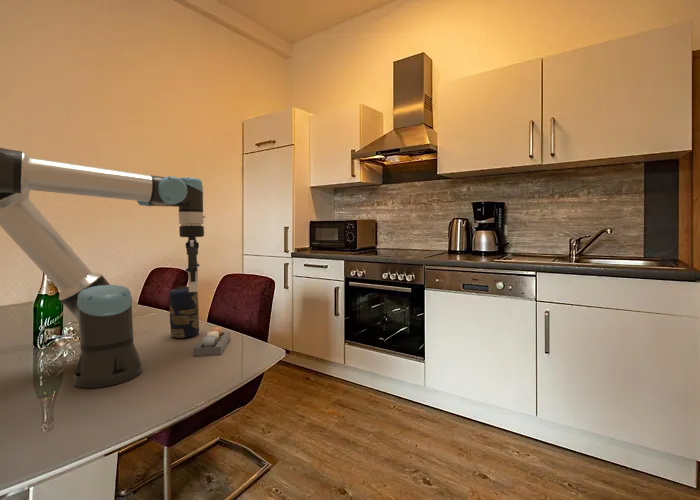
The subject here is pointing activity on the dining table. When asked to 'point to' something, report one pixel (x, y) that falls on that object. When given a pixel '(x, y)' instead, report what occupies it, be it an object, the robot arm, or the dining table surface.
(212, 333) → the cream button
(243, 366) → the dining table surface
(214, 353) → the grey tray
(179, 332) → the canister
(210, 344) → the slate button
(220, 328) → the terracotta button
